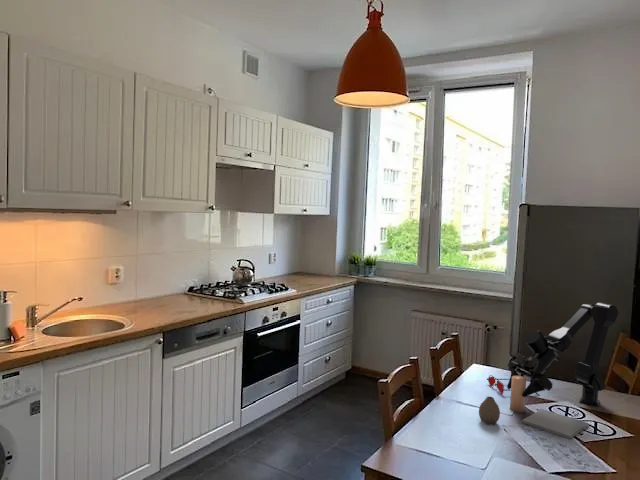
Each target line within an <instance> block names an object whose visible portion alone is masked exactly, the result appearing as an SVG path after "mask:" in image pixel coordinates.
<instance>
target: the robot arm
mask: <svg viewBox="0 0 640 480" xmlns="http://www.w3.org/2000/svg"><path fill="white" fill-rule="evenodd" d="M579 307H580V308H579V309H578V310H577V311H576V312H575V313H574V314H573V316H571V318H569V320H568V321H567V322H565V324H564V325H562V327H561V328H558V329H555V330H553V331H552V332H550V333H549V334H547V336H546V335H543V333H542V331H540V330H536V331H533V332H531V333H530V332H529V334H527V335H525V337H524V343H525V344H526V345H527V346H528V347H529V348H530V350H531V351H532V353H534V354H535V355H534V356H529V357H527V356H526V355H523V354H521V353H517V356H516V358H515V361H510V362H509V363H508V364H507V367H508V368H509V370H510V377H509V379H510V380H508V384H507V386H506V388H507V390H511V383H512V376H522V377H526V378H528V379H529V378H530V381H529V382H530V383H529V384H528V386H526V389H525V391H524V392H523V394H522V396H523V397H525V398H526V397H528V396H530V395H533V394H536V393H539V392H543V391H545V392H546V391H548V392H550V391H551V390H552V389H553V382H552V381H551V380H550V379H549V377H548V376H547V375H546V374H545V375H544V372H546V373H547V372H548V371H549V369H548V367H549V366H550V365H551V364H552V362H554V360H555V361H557V362H560V361H561V360H560V359H561V358H560V354H559V353H558V352H560V353H564V352H567V351H568V349H569V347H570V346H571V345H572V343H573V338H574V336H575V335H576V334H578V332H579V331H580V330H581V329H582V328H583V327H584V326H585V325H586V324H587V322H588V321H590V320H591V318H592V320H593V323H594V324H593V326H592V327H593V328H592V331H591V334H590V338H589V341H588V346H587V349H586V353H585V356H584V359H583V360H582V361H577V363H576V367H575V369H574V372H575V373H574V376H575V378H576V382H577V384H578V385H581V387H582V388H581V397H580V399H579V401H578V402H579V403H581V404H587V405H591V406H596V407H599V404H600V402H601V401H600V400H599V392H602V391H604V390H605V387H606V384H605V383H606V382H604V381H603V379H602V378H601V375H602V374H601V373H602V369H601V366H600V364H599V363H600V359H601V356H602V353H603V349H604V346H605V343H606V338H607V335H608V331H609V328H611V326H613V324H614V323H615V322H616V320H617V318H618V316H619V310H618V308H617V306H616V305H614V304H608V303H606V302H597V303H596V304H595V303H594V304H593V303H591V304H590V303H589V304H587V303H584V304H582V305H581V306H579ZM555 351H556V352H555ZM557 351H558V352H557Z"/></svg>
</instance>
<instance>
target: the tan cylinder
mask: <svg viewBox="0 0 640 480" xmlns="http://www.w3.org/2000/svg"><path fill="white" fill-rule="evenodd" d="M526 388H527V377H526V376H524V377H522V376H512V383H511V388H510V390H511V391H510V401H509V409H510V410H511V411H512V412H517V413H524V412H525V408H526V407H525V406H526V405H525V404H526V397H523V396H522V394H523V392H524V391H525V389H526Z"/></svg>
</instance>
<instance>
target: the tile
mask: <svg viewBox="0 0 640 480" xmlns="http://www.w3.org/2000/svg"><path fill="white" fill-rule="evenodd" d="M521 423H522V424H525V425H528V426H531V427H534V428H536V429H540V430H542V429H543V431H545V432H549V433H552V434H554V435H558V436H560V437H563V438H567V439H569V440H571V439H573V438H574V437H575V436H577V435H578V434H579V433H581V432H582V431H583V430H585V429H586V428H587V427H589V423H588V422H586V421H584V420H579V419H577V418H573V417H570V416H566V415H562V414H561V413H558V412H554V411H550V410H547V409H543V408H541V409H538V410H537V411H536V412H534V413H532V414H530V415H529V416H527V417H526V418H523V419H522V422H521Z"/></svg>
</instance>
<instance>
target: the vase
mask: <svg viewBox="0 0 640 480" xmlns="http://www.w3.org/2000/svg"><path fill="white" fill-rule="evenodd" d="M478 417H479V418H480V421H482V423H484V425H485V424H486V425H489V426H493V425H495V424H497V422H498V421H499V419H500V417H501V410H500V407H499V405H498V404H497V402H496V401H495V398H494V397H493V396H486V397H485V398H484V400H483V401H482V402H481V403H480V405H479V407H478Z"/></svg>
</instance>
